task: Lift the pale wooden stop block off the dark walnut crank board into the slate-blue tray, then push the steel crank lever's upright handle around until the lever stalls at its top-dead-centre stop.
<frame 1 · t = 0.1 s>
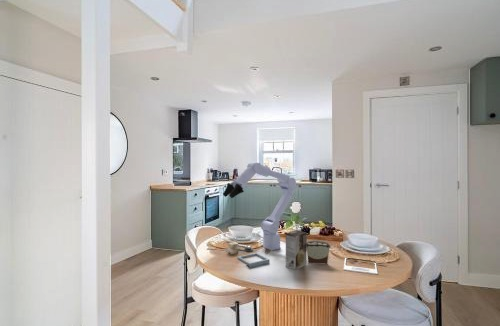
hand: (227, 196, 152), 32 cm above the table, tool tilted 50°, fingers open, 7 cm apart
crank lever: (242, 243, 162), point 5 cm above the table, hinge at -60.0°
crank board: (239, 251, 160), on the table
stop block: (233, 252, 156), point 1 cm above the table, touching crank board
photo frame: (360, 267, 140), on the table
food container: (316, 262, 146), on the table
coffee box: (296, 266, 140), on the table
tray: (253, 261, 144), on the table
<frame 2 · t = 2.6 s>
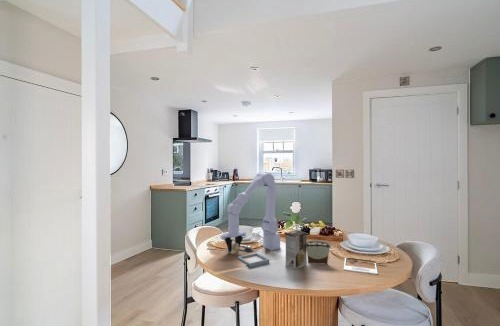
hand: (233, 250, 156), 2 cm above the table, tool pointing down, fingers closed on stop block, 4 cm apart
stop block: (233, 252, 156), point 1 cm above the table, touching crank board, gripper
everything else where it was.
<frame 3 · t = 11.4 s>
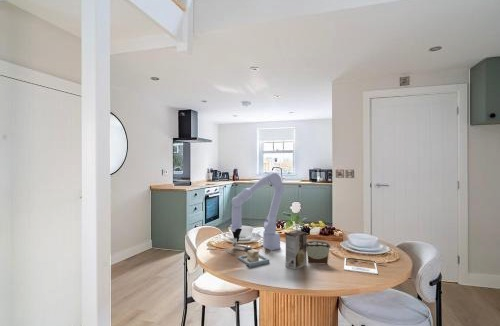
hand: (236, 241, 165), 4 cm above the table, tool pointing down, fingers closed, pressing on crank lever
crank lever: (241, 243, 161), point 5 cm above the table, hinge at -57.8°, touching gripper
stop block: (253, 260, 145), resting on tray
everything else where it was.
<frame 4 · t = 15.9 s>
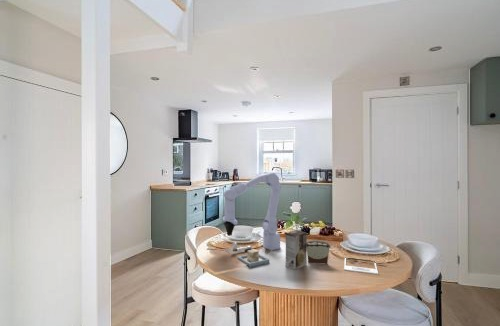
hand: (229, 235, 160), 9 cm above the table, tool pointing down, fingers closed
crank lever: (242, 245, 157), point 5 cm above the table, hinge at 1.4°
everything else where it was.
at the end: stop block 0.3 cm off-centre on the tray, point 0.5 cm above the tray's base; stop block tilted 0°; crank lever at +1° (first picture: -60°) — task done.
